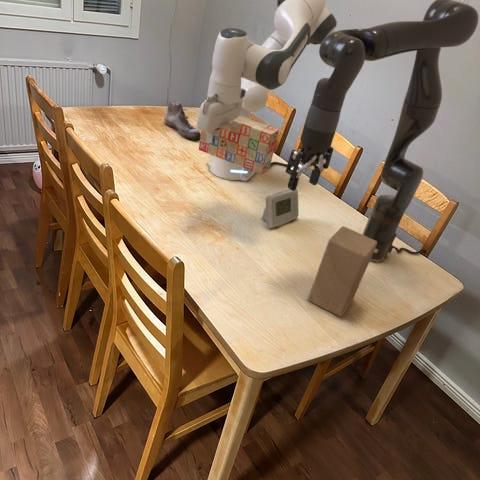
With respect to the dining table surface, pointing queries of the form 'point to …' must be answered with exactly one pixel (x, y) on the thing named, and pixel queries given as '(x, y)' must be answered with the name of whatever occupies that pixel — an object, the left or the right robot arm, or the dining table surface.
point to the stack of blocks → (243, 143)
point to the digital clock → (281, 208)
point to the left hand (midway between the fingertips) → (216, 139)
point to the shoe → (180, 121)
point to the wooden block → (341, 270)
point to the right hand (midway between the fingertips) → (302, 186)
